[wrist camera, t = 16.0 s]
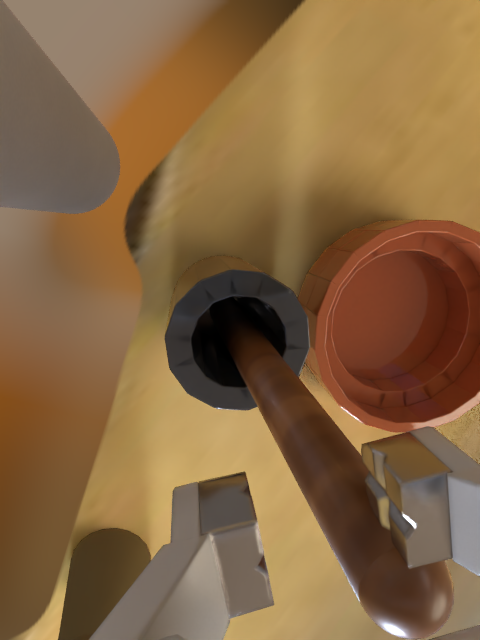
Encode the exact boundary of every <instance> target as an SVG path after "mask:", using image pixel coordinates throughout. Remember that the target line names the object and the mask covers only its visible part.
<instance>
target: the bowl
mask: <svg viewBox="0 0 480 640" xmlns="http://www.w3.org/2000/svg"><path fill="white" fill-rule="evenodd" d="M298 301H299V302H300V304H301V306H302V307H303V309H304V311H305V312H306V314H307V316H308V321H309V336H310V350H309V353H308V355H307V358H306V360H305V363H306V365H307V366H308V368H309V369H310V371H311V372H312V374H313V375H314V377H315V378H316V380H317V381H318V382H319V383H320V384H321V385H322V387H323V388H324V389H325V390H326V391H327V392H328V394H329V395H330V396H331V397H332V398H333V399H334V401H335V402H336V403H337V404H338V405H339V406H340V407H341V408H342V409H344V410H345V411H346V412H348V413H349V414H351V415H352V416H353V417H355V418H356V419H358V420H359V421H360V422H362V423H364V424H365V425H369V426H372V427H376V428H379V429H383V430H386V431H390V432H408V431H412V430H415V429H419V428H423V427H426V426H429V427H433V428H434V427H437V426H440V425H443V424H446V423H449V422H452V421H453V420H456V419H457V418H458V417H460V416H461V415H463V414H464V413H466V412H467V411H469V410H470V409H472V408H473V407H474V406H476V405H477V404H479V403H480V232H477V231H475V230H472V229H470V228H468V227H465V226H463V225H460V224H458V223H456V222H453V221H442V220H386V221H378V222H375V223H372V224H369V225H366V226H362V227H359V228H356V229H353V230H351V231H350V232H348V233H347V234H345V235H344V236H343V237H341V238H340V239H338V240H337V241H335V242H334V243H333V244H331V245H330V246H328V247H327V248H326V249H325V250H324V252H323V253H322V254H321V256H320V257H319V258H318V260H317V261H316V262H315V263H314V265H313V266H312V267H311V269H310V270H309V271H308V273H307V275H306V278H305V280H304V283H303V286H302V288H301V291H300V293H299V296H298Z"/></svg>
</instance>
